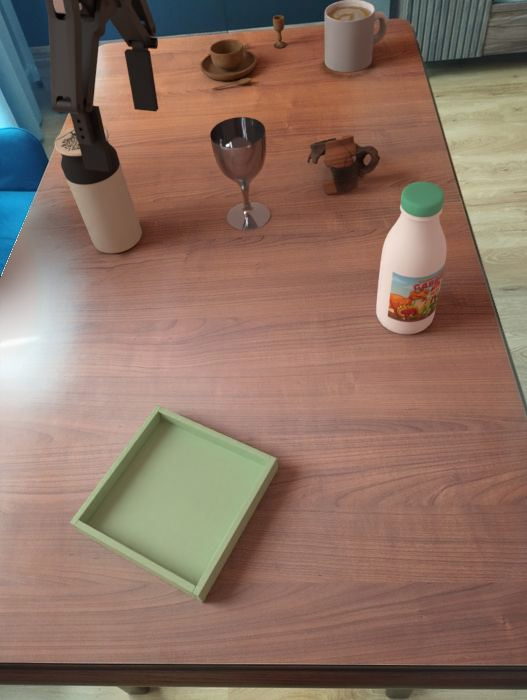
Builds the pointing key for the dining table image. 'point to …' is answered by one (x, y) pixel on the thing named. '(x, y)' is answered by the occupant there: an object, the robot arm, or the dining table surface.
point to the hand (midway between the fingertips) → (124, 137)
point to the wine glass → (242, 165)
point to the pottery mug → (343, 162)
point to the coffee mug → (351, 34)
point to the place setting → (235, 58)
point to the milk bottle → (412, 261)
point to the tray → (177, 500)
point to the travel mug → (100, 197)
